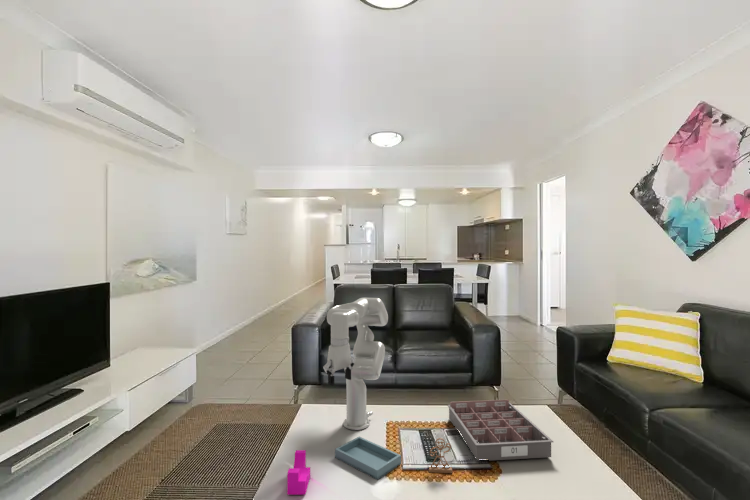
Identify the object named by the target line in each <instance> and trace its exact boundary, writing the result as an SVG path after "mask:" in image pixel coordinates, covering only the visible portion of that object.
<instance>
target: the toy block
mask: <svg viewBox="0 0 750 500" xmlns="http://www.w3.org/2000/svg"><path fill="white" fill-rule="evenodd" d="M306 465H307V450H305V449H304V450H303V449H299V450H298V449H297V450H295V452H294V462H293V468H290V467H289V468H288V470H287V473H286V474H287V475H286V476H287V478H286V479H287V480H286V481H287V485H286V486H287V487H286V488H287V490H286V492H287V496H288V495H294V496H295V495H297V496H298V495H299V496H300V495H306V493H307V490H308V487H309V483H310V479H311V467H310V466H308V467H307V466H306Z"/></svg>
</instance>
